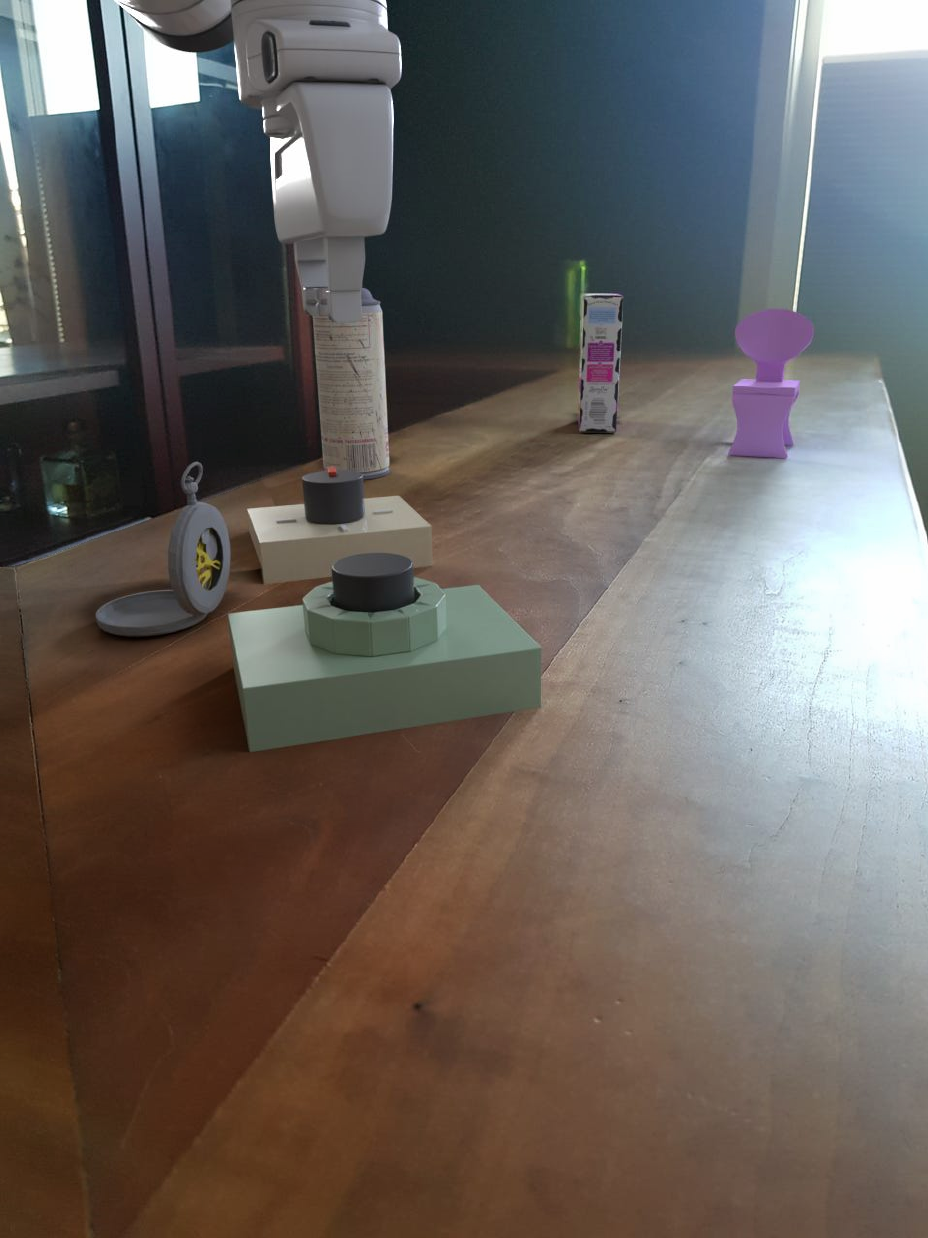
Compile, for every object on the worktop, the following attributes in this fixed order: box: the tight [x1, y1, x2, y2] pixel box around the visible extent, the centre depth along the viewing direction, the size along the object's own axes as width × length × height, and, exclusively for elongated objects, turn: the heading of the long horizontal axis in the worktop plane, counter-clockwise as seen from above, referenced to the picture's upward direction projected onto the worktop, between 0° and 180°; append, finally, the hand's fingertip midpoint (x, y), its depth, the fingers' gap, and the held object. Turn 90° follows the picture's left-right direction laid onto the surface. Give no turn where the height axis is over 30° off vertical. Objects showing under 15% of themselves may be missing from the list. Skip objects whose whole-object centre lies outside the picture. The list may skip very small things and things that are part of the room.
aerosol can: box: [312, 287, 391, 481], centre depth 95 cm, size 7×7×20 cm
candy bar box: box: [577, 292, 624, 434], centre depth 120 cm, size 11×5×16 cm, turn 174°
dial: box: [301, 466, 365, 524], centre depth 69 cm, size 4×4×3 cm
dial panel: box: [246, 495, 433, 585], centre depth 70 cm, size 12×10×3 cm
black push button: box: [331, 553, 415, 613], centre depth 47 cm, size 4×4×2 cm
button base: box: [227, 576, 543, 753], centre depth 48 cm, size 14×10×5 cm
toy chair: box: [727, 308, 815, 459], centre depth 103 cm, size 8×9×15 cm
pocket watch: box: [95, 461, 231, 638], centre depth 56 cm, size 8×8×10 cm
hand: (330, 318), depth 60 cm, fingers open, 8 cm apart
